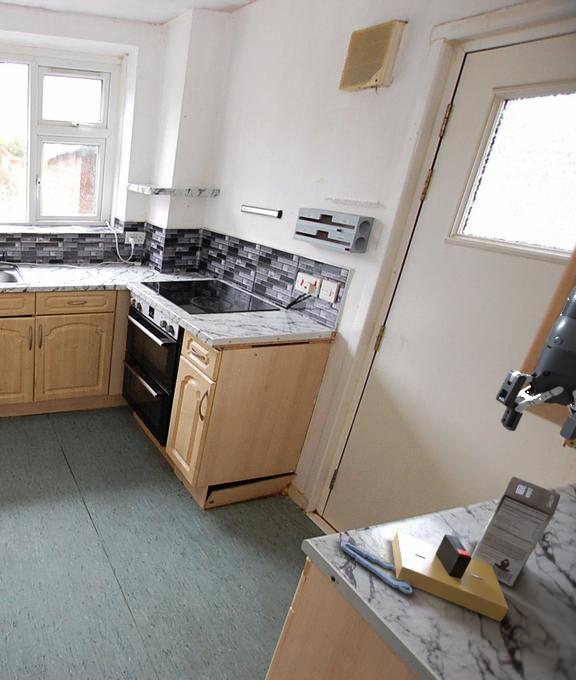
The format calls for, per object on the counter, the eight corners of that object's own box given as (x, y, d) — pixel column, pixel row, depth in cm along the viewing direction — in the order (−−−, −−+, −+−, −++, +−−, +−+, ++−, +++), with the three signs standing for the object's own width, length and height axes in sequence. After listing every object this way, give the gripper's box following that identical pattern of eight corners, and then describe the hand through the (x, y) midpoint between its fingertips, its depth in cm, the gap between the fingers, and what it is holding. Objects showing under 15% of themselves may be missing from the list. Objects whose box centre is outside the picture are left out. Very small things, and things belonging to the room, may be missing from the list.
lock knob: (435, 553, 81) (445, 532, 79) (447, 556, 81) (457, 535, 79) (449, 575, 77) (460, 554, 75) (461, 578, 76) (472, 557, 75)
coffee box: (477, 542, 89) (512, 474, 84) (521, 564, 85) (561, 493, 79) (466, 564, 84) (503, 493, 78) (513, 589, 79) (555, 515, 73)
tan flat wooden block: (485, 578, 81) (492, 565, 80) (500, 622, 72) (509, 607, 71) (391, 543, 87) (397, 530, 86) (396, 579, 79) (402, 565, 78)
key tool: (349, 540, 87) (335, 547, 85) (351, 536, 87) (337, 543, 84) (419, 589, 78) (405, 598, 75) (421, 585, 78) (408, 594, 75)
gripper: (612, 345, 76) (568, 430, 81) (512, 333, 79) (476, 415, 84) (654, 361, 69) (604, 453, 75) (543, 347, 72) (502, 436, 78)
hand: (536, 433), depth 80 cm, fingers open, 8 cm apart
